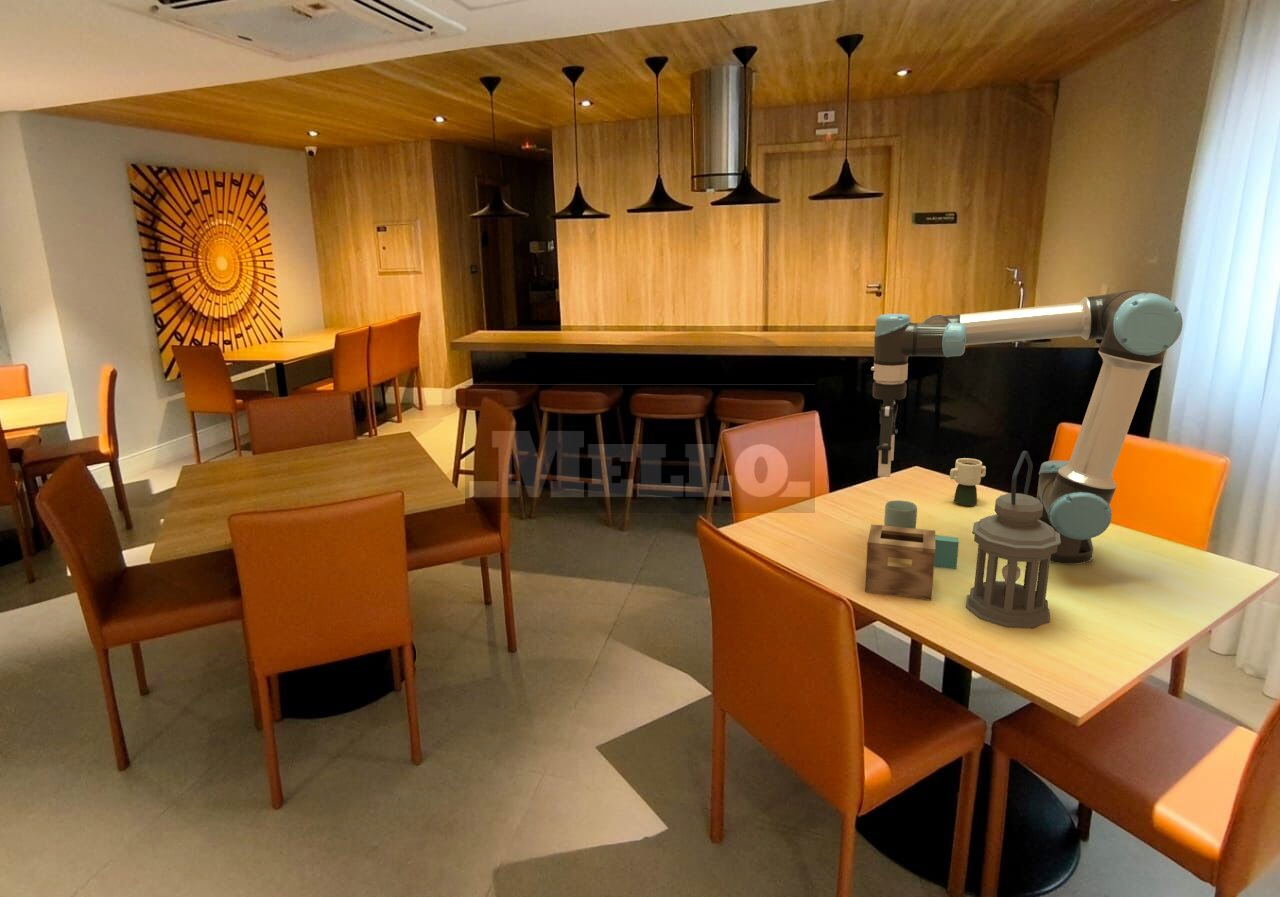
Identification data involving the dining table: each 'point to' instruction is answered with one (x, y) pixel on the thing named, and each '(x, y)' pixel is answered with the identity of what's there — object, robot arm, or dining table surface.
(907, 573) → the coin box
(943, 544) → the block
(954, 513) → the dining table surface
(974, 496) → the character mug
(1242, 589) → the dining table surface
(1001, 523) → the lantern
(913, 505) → the cup
